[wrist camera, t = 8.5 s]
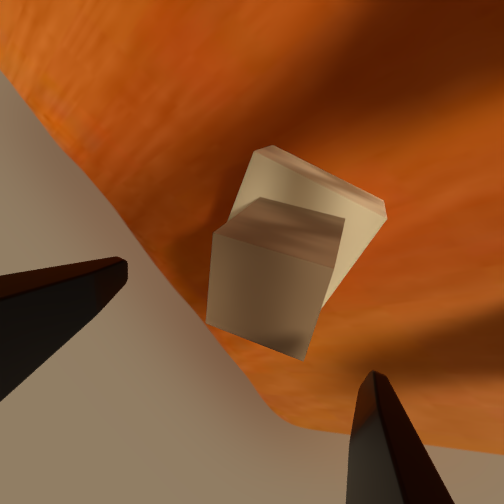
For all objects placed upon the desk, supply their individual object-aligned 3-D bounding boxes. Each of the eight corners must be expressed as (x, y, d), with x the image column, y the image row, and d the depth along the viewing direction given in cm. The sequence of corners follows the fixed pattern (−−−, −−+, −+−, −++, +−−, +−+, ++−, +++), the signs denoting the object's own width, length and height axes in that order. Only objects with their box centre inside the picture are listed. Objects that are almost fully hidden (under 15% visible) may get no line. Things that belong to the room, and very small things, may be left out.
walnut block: (345, 218, 15) (333, 269, 10) (322, 291, 18) (303, 361, 13) (260, 196, 17) (213, 232, 12) (248, 267, 19) (205, 323, 14)
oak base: (383, 199, 18) (386, 218, 15) (322, 287, 22) (314, 318, 19) (274, 144, 19) (253, 150, 16) (235, 238, 23) (212, 259, 20)
